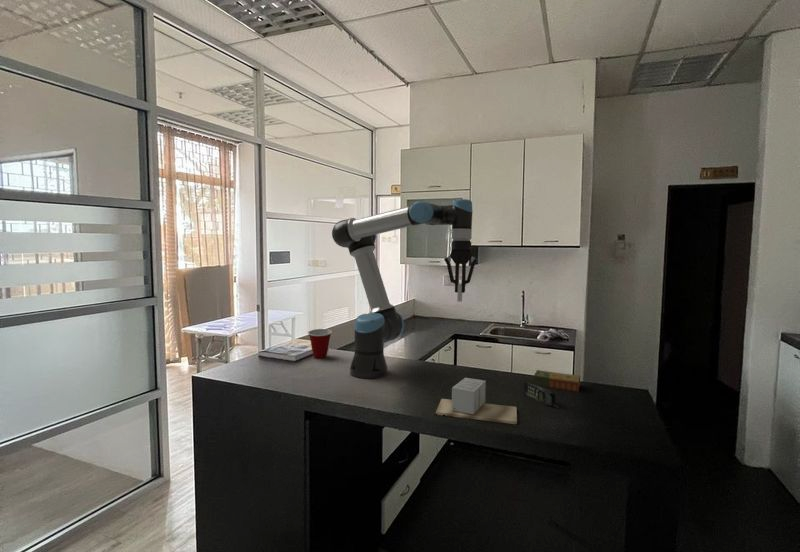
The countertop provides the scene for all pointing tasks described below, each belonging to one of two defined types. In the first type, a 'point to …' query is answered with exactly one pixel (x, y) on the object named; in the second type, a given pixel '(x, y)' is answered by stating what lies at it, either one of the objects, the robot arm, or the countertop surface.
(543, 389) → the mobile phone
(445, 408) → the wooden board
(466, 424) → the countertop surface
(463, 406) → the supplement box
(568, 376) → the carton
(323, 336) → the plastic cup
